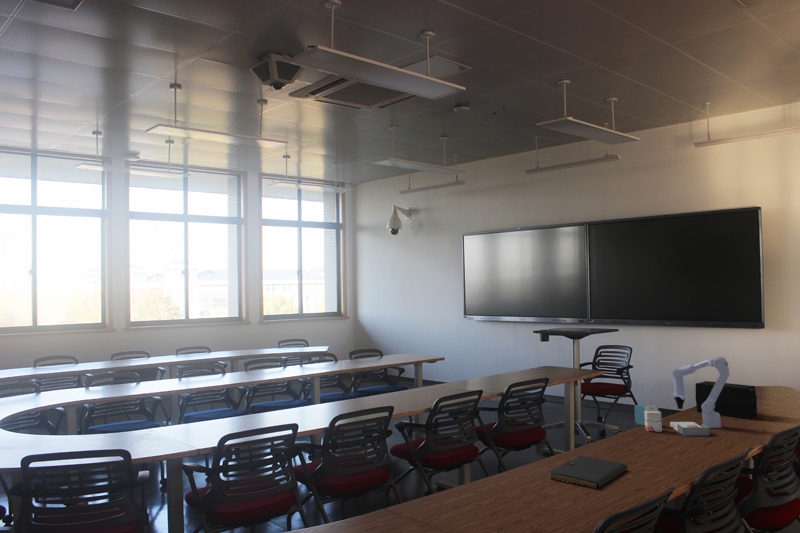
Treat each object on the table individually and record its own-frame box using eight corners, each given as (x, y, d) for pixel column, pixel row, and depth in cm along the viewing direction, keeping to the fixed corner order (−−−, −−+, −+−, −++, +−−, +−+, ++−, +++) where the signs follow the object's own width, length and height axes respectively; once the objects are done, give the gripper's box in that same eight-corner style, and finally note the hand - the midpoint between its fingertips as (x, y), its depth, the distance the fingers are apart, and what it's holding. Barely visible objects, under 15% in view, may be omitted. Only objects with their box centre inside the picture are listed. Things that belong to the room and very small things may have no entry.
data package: (656, 425, 355) (655, 406, 356) (653, 426, 353) (652, 407, 353) (638, 422, 365) (637, 404, 365) (635, 423, 362) (634, 405, 363)
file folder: (580, 454, 287) (627, 463, 271) (580, 462, 287) (627, 472, 270) (548, 470, 263) (598, 481, 246) (549, 479, 263) (599, 491, 246)
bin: (704, 431, 336) (703, 424, 336) (710, 435, 327) (709, 427, 327) (677, 431, 338) (677, 424, 338) (683, 435, 329) (682, 427, 330)
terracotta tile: (695, 428, 335) (695, 424, 335) (699, 430, 330) (698, 426, 331) (687, 428, 336) (686, 424, 336) (690, 430, 331) (689, 426, 331)
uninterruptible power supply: (708, 409, 397) (706, 380, 398) (760, 416, 370) (758, 386, 371) (696, 412, 388) (694, 383, 389) (749, 420, 360) (746, 389, 361)
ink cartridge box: (647, 431, 341) (646, 407, 342) (645, 429, 346) (643, 405, 347) (662, 431, 340) (660, 407, 341) (659, 429, 345) (658, 405, 346)
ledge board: (693, 425, 351) (693, 421, 351) (702, 431, 337) (702, 427, 337) (670, 425, 353) (670, 421, 353) (678, 431, 339) (678, 427, 339)
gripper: (668, 385, 366) (669, 406, 366) (676, 389, 352) (677, 411, 351) (679, 385, 365) (681, 406, 365) (688, 389, 351) (689, 411, 350)
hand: (680, 408), depth 358 cm, fingers closed
